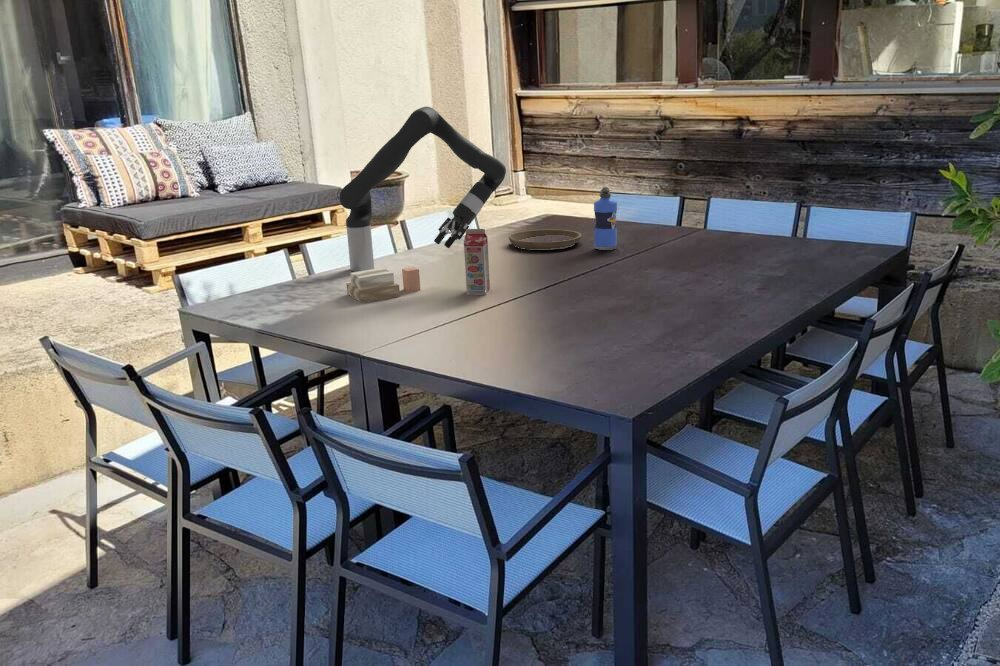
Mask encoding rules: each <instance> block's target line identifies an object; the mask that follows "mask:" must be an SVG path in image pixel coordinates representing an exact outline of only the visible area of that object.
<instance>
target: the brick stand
mask: <svg viewBox="0 0 1000 666" xmlns="http://www.w3.org/2000/svg"><path fill="white" fill-rule="evenodd" d="M349 277H350V282H347V283H346V282H345V283H346V293H347V294H348V296H349V295H350V296H349V297H351V296H352V297H353V299H354V298H355V299H354V300H356V299H357V300H358V301H357V300H356V301H357V302H359V301H360V302H359V303H361V302H364V303H369V302H368V301H370V302H375V301H374V300H376V301H380V300H386V299H387V300H388V299H392V298H397V297H401V292H400V284H398V283H397V282H395V279H394V278H395V276H394V272H393V271H390V270H388V269H386V268H384V267H379V268H374V269H371V270H364V271H358V272H354V271H350V272H349ZM352 297H351V298H352Z"/></svg>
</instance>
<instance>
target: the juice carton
mask: <svg viewBox="0 0 1000 666" xmlns="http://www.w3.org/2000/svg"><path fill="white" fill-rule="evenodd" d="M488 240H489V239H488V235H487V234H486V228H468V229H466V232H465V234H464V238H463V251H464V252H463V253H464V266H465V267H464V268H465V269H464V272H465V285H466V289H465V290H466V295H468V296H486V295H488V293H489V292H490V291H491V286H490V285H491V282H490V264H489V263H490V262H489V242H488ZM485 290H486V292H485ZM489 290H490V291H489Z"/></svg>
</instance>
